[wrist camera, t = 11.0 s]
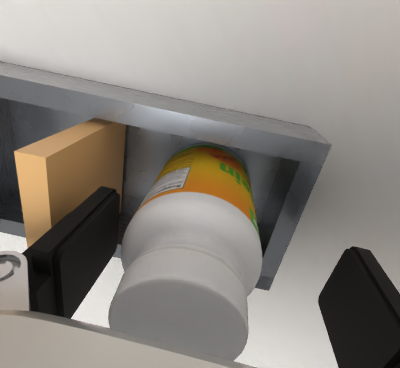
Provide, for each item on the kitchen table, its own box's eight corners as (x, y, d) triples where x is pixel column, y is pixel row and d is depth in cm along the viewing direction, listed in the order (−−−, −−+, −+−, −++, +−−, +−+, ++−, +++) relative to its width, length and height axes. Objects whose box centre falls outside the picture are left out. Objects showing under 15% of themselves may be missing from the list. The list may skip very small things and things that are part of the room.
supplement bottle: (265, 197, 16) (311, 363, 7) (194, 232, 18) (159, 402, 9) (219, 122, 14) (204, 220, 5) (145, 170, 16) (43, 302, 7)
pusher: (126, 115, 14) (45, 157, 8) (120, 211, 17) (57, 299, 11) (56, 100, 14) (-80, 130, 8) (61, 199, 17) (-36, 279, 11)
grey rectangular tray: (308, 126, 14) (345, 156, 10) (261, 251, 18) (272, 313, 14) (-6, 60, 14) (-112, 59, 10) (14, 197, 18) (-55, 241, 14)
